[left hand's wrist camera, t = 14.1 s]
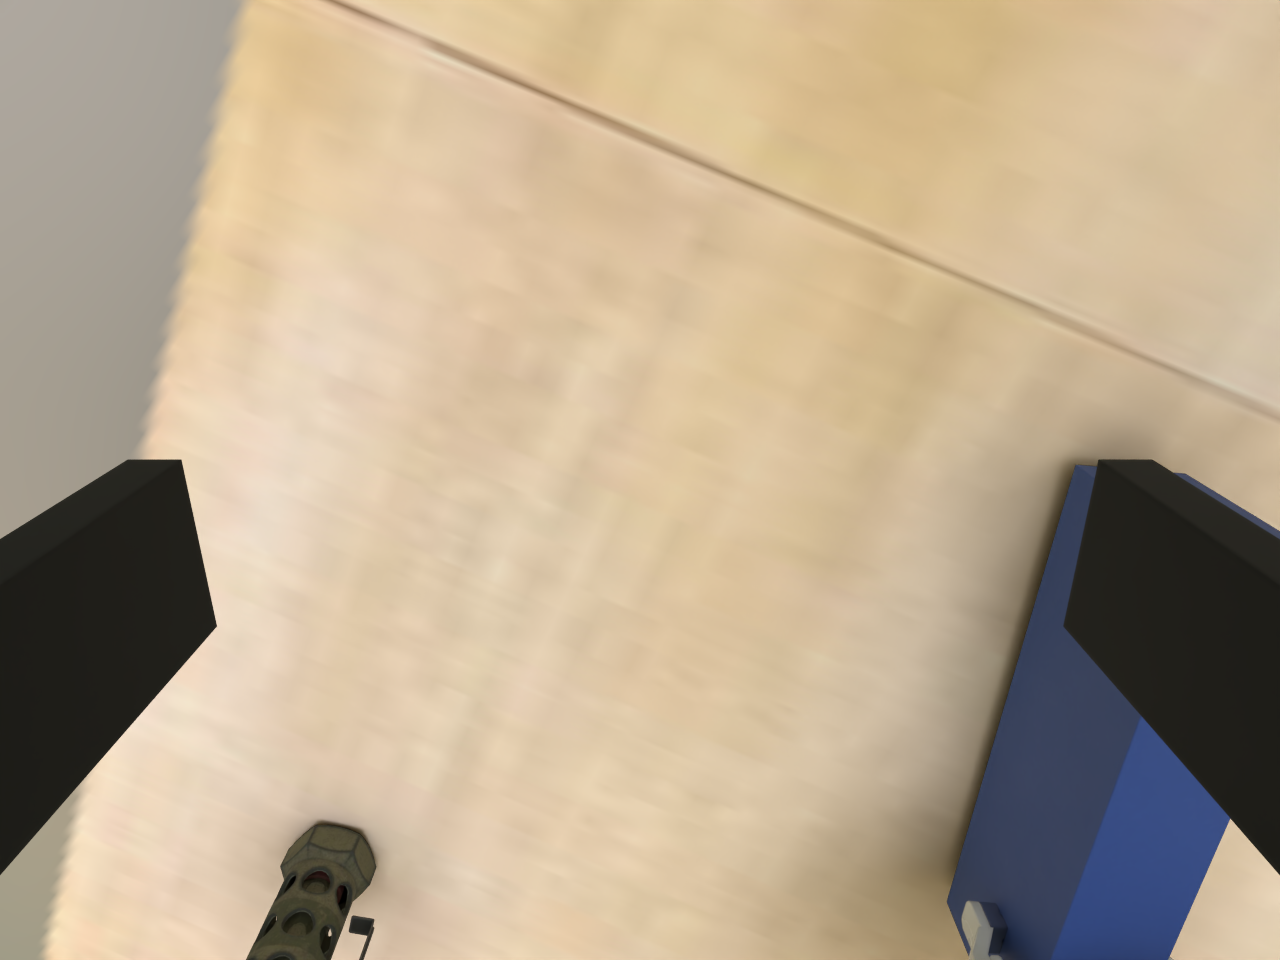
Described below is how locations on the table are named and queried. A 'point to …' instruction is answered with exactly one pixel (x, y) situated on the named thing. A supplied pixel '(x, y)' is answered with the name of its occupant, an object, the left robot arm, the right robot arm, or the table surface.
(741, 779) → the table surface
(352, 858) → the grenade
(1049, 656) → the bar
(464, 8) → the table surface
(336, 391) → the table surface
